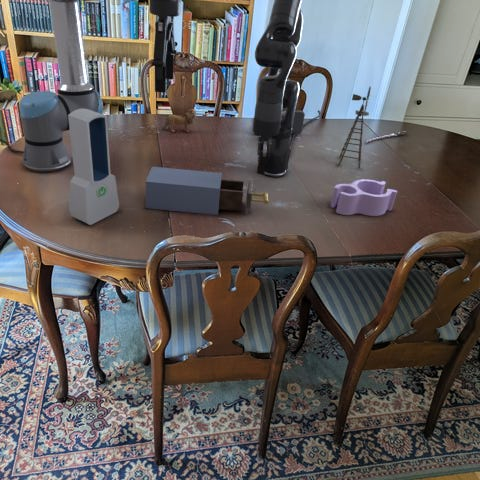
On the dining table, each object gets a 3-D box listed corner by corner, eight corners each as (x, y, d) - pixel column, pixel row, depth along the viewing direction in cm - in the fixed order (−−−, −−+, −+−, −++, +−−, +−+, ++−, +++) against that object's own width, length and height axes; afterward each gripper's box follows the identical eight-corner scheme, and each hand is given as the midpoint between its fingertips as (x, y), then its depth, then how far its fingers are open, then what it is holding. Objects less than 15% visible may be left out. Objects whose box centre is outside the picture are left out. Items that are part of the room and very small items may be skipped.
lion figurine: (194, 127, 202) (194, 107, 197) (197, 132, 198) (198, 111, 193) (160, 128, 197) (160, 107, 192) (163, 133, 193) (163, 112, 188)
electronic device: (87, 227, 129) (77, 121, 112) (68, 218, 132) (56, 113, 115) (120, 210, 138) (114, 110, 122) (101, 202, 141) (94, 103, 125)
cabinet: (220, 198, 150) (222, 173, 145) (217, 215, 141) (219, 188, 136) (152, 192, 149) (152, 166, 145) (145, 208, 140) (145, 181, 136)
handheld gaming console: (299, 131, 211) (303, 109, 205) (302, 133, 208) (305, 111, 203) (251, 133, 203) (254, 110, 198) (254, 135, 201) (256, 112, 196)
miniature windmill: (359, 169, 181) (379, 91, 164) (338, 165, 182) (355, 87, 165) (359, 160, 188) (378, 84, 172) (338, 156, 189) (355, 81, 173)
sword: (403, 131, 224) (404, 129, 223) (408, 133, 222) (409, 131, 221) (360, 143, 208) (360, 140, 207) (365, 145, 206) (366, 142, 205)
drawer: (266, 201, 149) (269, 181, 146) (267, 216, 142) (270, 195, 138) (185, 193, 149) (186, 173, 145) (182, 208, 141) (182, 187, 137)
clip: (342, 219, 146) (347, 199, 142) (324, 200, 156) (328, 181, 152) (396, 213, 152) (402, 195, 148) (375, 196, 162) (380, 178, 158)
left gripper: (172, 4, 104) (171, 99, 115) (186, -7, 125) (184, 75, 136) (139, 1, 104) (141, 96, 115) (158, -10, 125) (158, 72, 136)
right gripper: (282, 125, 124) (273, 184, 134) (280, 110, 135) (272, 165, 145) (254, 122, 124) (247, 181, 133) (254, 107, 135) (248, 163, 145)
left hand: (164, 85), depth 126 cm, fingers open, 13 cm apart
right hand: (260, 173), depth 139 cm, fingers closed
